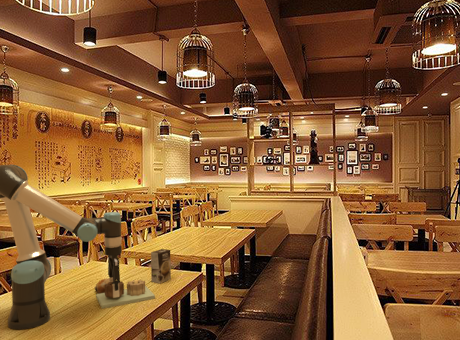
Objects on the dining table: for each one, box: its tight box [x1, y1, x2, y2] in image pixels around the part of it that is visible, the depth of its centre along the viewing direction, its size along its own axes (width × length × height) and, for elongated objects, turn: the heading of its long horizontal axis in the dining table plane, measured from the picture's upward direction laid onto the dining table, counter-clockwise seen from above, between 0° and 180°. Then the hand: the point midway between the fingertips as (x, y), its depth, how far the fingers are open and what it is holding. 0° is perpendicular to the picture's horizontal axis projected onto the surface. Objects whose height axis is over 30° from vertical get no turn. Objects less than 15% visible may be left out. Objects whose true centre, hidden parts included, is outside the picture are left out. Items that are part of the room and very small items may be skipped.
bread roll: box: [94, 278, 109, 294], centre depth 188 cm, size 10×10×8 cm
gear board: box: [95, 279, 156, 310], centre depth 178 cm, size 24×16×8 cm, turn 118°
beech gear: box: [126, 279, 146, 296], centre depth 180 cm, size 8×8×5 cm
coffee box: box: [150, 248, 172, 284], centre depth 203 cm, size 9×6×16 cm
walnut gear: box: [105, 280, 125, 298], centre depth 175 cm, size 8×8×5 cm
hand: (114, 294), depth 175 cm, fingers open, 8 cm apart
